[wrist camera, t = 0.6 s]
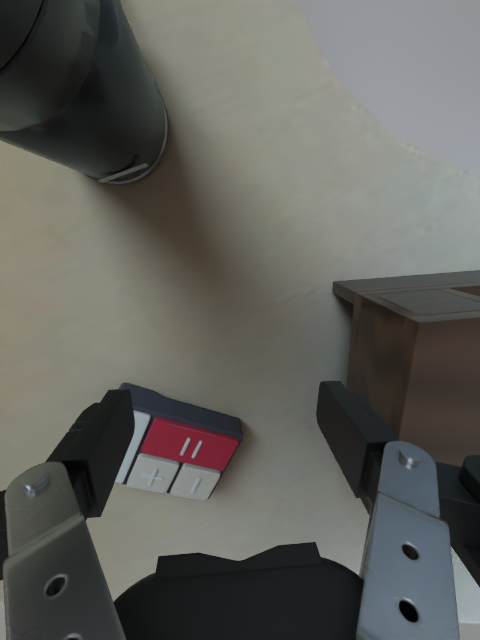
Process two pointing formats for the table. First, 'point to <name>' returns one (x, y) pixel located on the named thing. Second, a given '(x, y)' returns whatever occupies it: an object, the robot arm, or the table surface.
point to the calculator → (177, 446)
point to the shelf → (419, 358)
